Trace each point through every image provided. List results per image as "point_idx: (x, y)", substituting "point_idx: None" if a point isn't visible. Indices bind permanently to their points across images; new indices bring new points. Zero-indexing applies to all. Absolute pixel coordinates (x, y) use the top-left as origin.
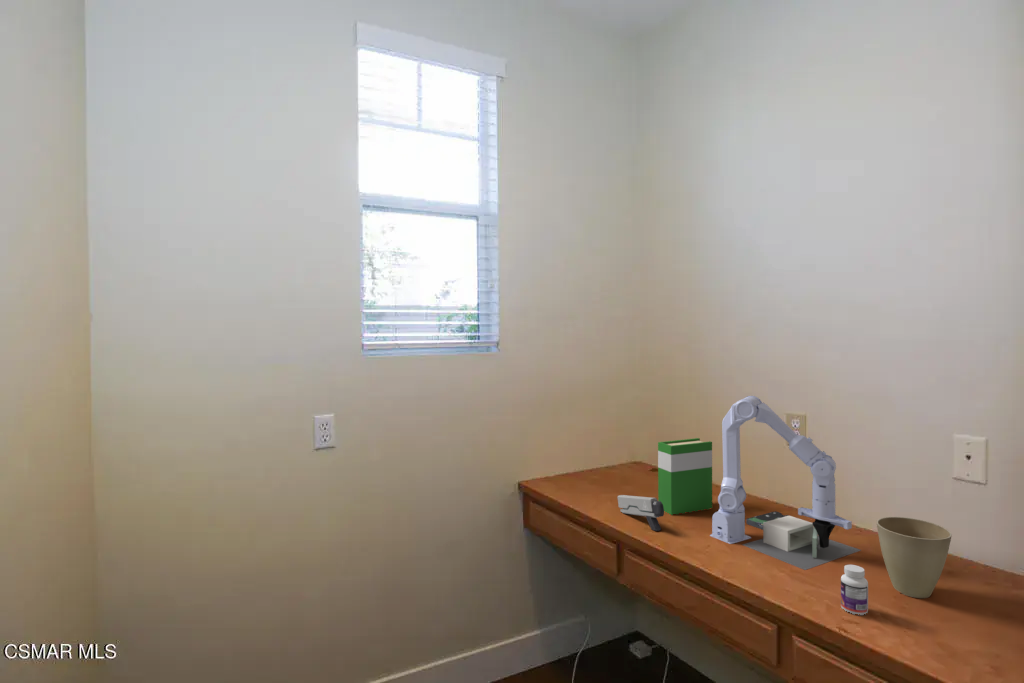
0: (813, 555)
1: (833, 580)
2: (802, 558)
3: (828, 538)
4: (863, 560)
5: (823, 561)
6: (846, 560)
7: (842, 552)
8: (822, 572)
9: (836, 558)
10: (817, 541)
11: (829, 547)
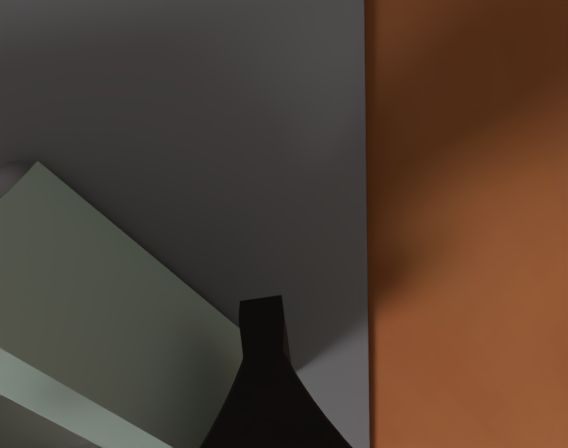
0: None
1: (502, 439)
2: None
3: (284, 352)
4: (495, 45)
5: (348, 362)
6: (405, 189)
7: (299, 99)
8: (421, 428)
9: (363, 259)
10: (107, 261)
11: (147, 110)
